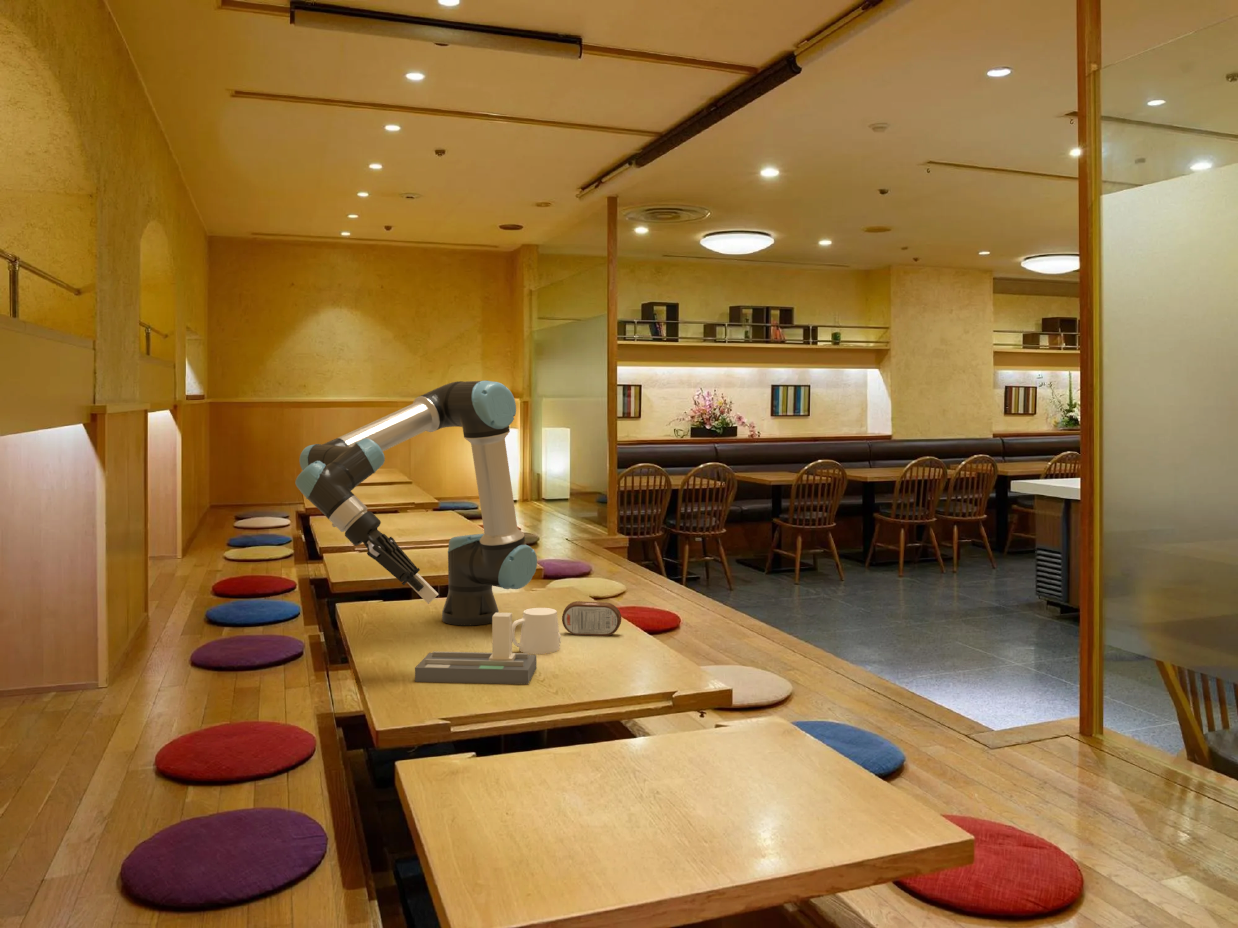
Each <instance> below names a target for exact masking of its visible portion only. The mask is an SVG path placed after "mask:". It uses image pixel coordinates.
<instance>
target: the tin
mask: <svg viewBox="0 0 1238 928" xmlns="http://www.w3.org/2000/svg"><path fill="white" fill-rule="evenodd" d="M561 620H562V621H561V623H562V625H563V627H564V629H565V630H566V631H567V632H568V633H570V634H571V635H575V636H587V635H588V636H592V637H593V636H595V637H610V636H611V635H613V634H615V632H617V631H618V630H619V627H620V626H621V624H622V614H621V612H620V609H619V608H618V607H617V606H616V605H614V604H613V603H611V602H604V601H603V602H602V601H583V600H582V601H581V600H579V601H578V600H577V601H573V602H571V603H569V604H567V605H566V606H565V608H564V610H563V613H562V615H561Z"/></svg>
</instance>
